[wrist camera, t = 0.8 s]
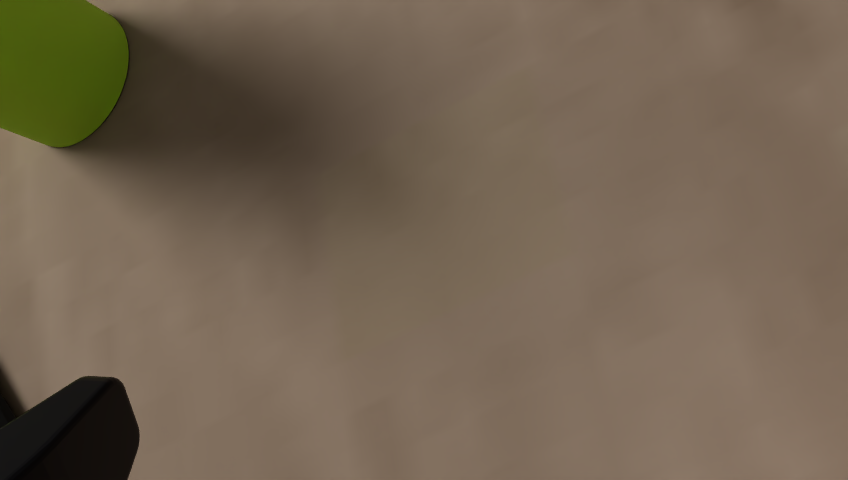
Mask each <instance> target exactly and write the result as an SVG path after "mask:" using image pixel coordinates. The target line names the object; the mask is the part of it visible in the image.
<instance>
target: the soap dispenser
mask: <svg viewBox="0 0 848 480" xmlns="http://www.w3.org/2000/svg"><path fill="white" fill-rule="evenodd" d="M128 61H129V50H128V42H127V38H126V35H125V32H124V30H123V28H122V26H121V25H120V24H119V22H118V21H117V20H116V19H115V18H114V17H112V16H111V15H109V14H108V13H106V12H104V11H102V10H101V9H99V8H97V7H96V6H94V5H92V4H91V3H89V2H87V1H86V0H0V128H3V129H5V130H8V131H11V132H13V133H16V134H19V135H21V136H24V137H26V138H29V139H32V140H34V141H37V142H40V143H42V144H45V145H48V146H51V147H66V146H70V145H73V144H76V143H78V142H80V141H82V140H83V139H85V138H86V137H88V136H89V135H90V134H92V133H93V132H94V131H95V130H96V129H97V128H98V127H99V126H100V125H101V124H102V123H103V122H104V120H105V119H106V118H107V116H108V115H109V114H110V112H111V111H112V109H113V107H114V106H115V104H116V102H117V100H118V98H119V96H120V94H121V91H122V88H123V86H124V82H125V79H126V75H127V70H128Z"/></svg>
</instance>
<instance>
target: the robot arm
mask: <svg viewBox="0 0 848 480" xmlns="http://www.w3.org/2000/svg"><path fill="white" fill-rule="evenodd" d="M139 437H140V435H139V427H138V424H137V421H136V418H135V416H134V413H133V410H132V407H131V404H130V401H129V398H128V396H127V393H126V390H125V387H124V385H123V383H122V382H121V381H120V380H119V379H117V378H114V377H99V376H85V377H81V378H79V379H77V380H75V381H74V382H72V383H71V384H69V385H68V386H66V387H64V388H63V389H61V390H60V391H58V392H57V393H55V394H53V395H52V396H50V397H49V398H47V399H46V400H44V401H42V402H41V403H39V404H38V405H36V406H35V407H33V408H31V409H30V410H28V411H27V412H25V413H24V414H22V415H20V416H19V417H17V418H16V419H14V420H13V421H11V422H9V423H8V424H6V425H5V426H3V427H2V428H0V480H128V477H129V474H130V471H131V468H132V465H133V462H134V459H135V456H136V453H137V450H138V446H139Z"/></svg>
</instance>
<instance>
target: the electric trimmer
mask: <svg viewBox="0 0 848 480" xmlns="http://www.w3.org/2000/svg"><path fill="white" fill-rule="evenodd" d="M14 419H16V417H15V416H14V414H13V412H12V411H11V409H10V408H9V406H8V405H7V403H6V401H5V400H4V398H3V397H2V395H1V394H0V428H2V427H3V426H5V425H6V424H8V423H9V422H11V421H13V420H14Z"/></svg>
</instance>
